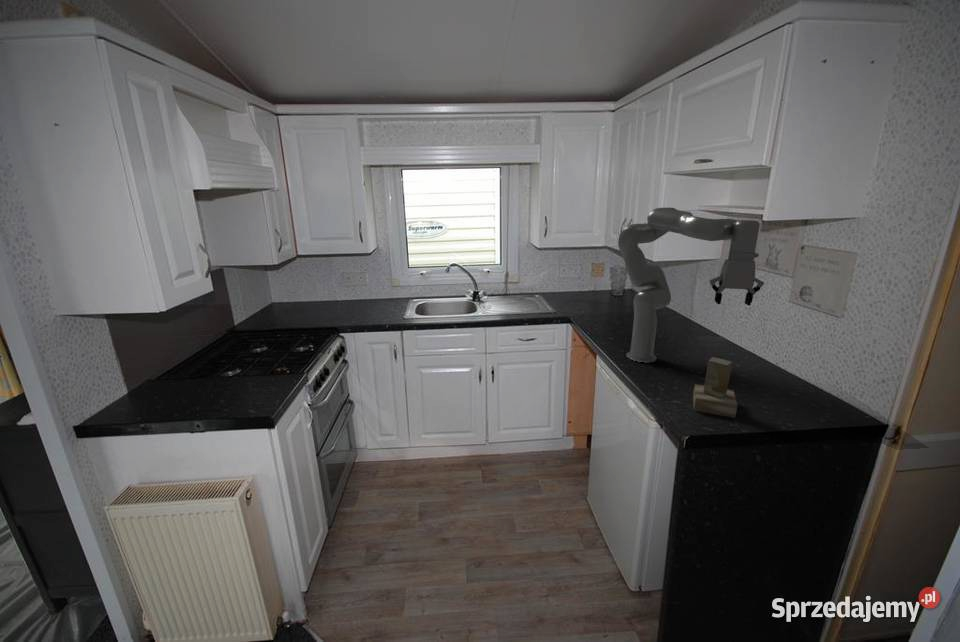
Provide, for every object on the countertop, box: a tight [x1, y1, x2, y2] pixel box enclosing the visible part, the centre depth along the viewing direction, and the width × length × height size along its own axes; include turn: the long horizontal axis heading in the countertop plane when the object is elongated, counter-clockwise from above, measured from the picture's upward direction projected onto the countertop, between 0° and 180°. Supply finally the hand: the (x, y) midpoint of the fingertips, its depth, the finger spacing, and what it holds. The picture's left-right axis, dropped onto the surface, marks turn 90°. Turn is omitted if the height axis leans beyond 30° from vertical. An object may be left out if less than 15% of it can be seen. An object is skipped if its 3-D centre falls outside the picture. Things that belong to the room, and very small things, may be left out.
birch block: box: [692, 383, 738, 419], centre depth 139 cm, size 12×12×5 cm
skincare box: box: [703, 356, 734, 398], centre depth 136 cm, size 6×4×12 cm
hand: (732, 303), depth 145 cm, fingers open, 9 cm apart
